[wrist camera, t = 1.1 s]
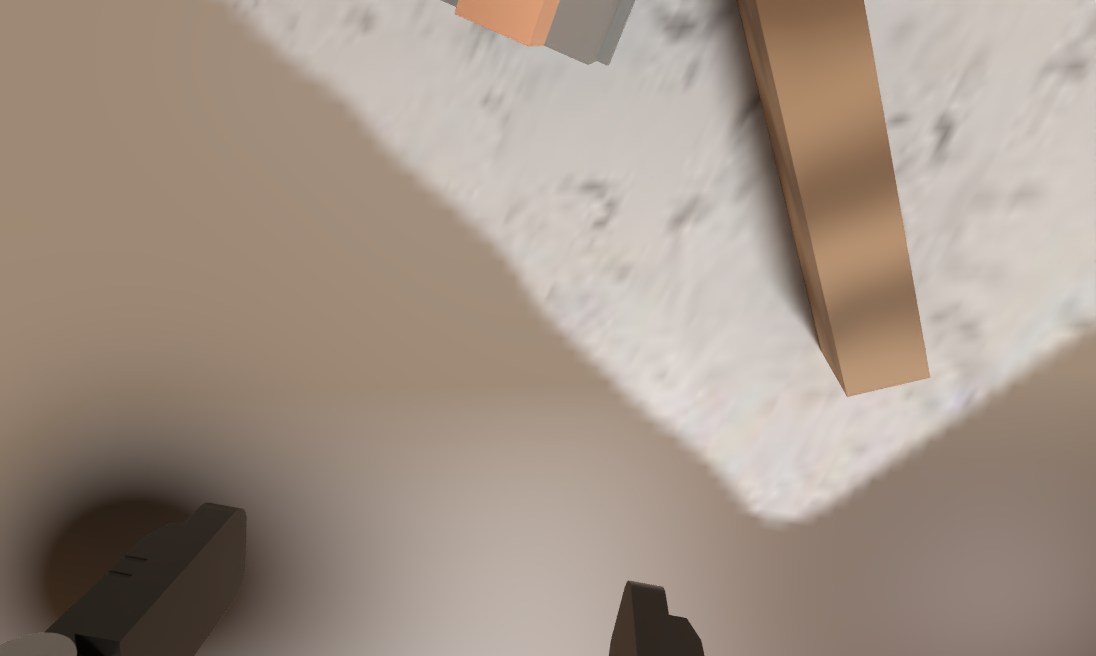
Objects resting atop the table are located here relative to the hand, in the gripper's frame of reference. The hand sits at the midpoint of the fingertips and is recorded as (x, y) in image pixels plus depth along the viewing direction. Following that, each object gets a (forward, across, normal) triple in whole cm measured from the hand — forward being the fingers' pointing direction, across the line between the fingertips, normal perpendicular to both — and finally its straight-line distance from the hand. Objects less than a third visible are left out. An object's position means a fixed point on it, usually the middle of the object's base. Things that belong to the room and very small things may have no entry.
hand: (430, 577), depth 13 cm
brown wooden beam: (+21, -12, -10) cm, 26 cm away
